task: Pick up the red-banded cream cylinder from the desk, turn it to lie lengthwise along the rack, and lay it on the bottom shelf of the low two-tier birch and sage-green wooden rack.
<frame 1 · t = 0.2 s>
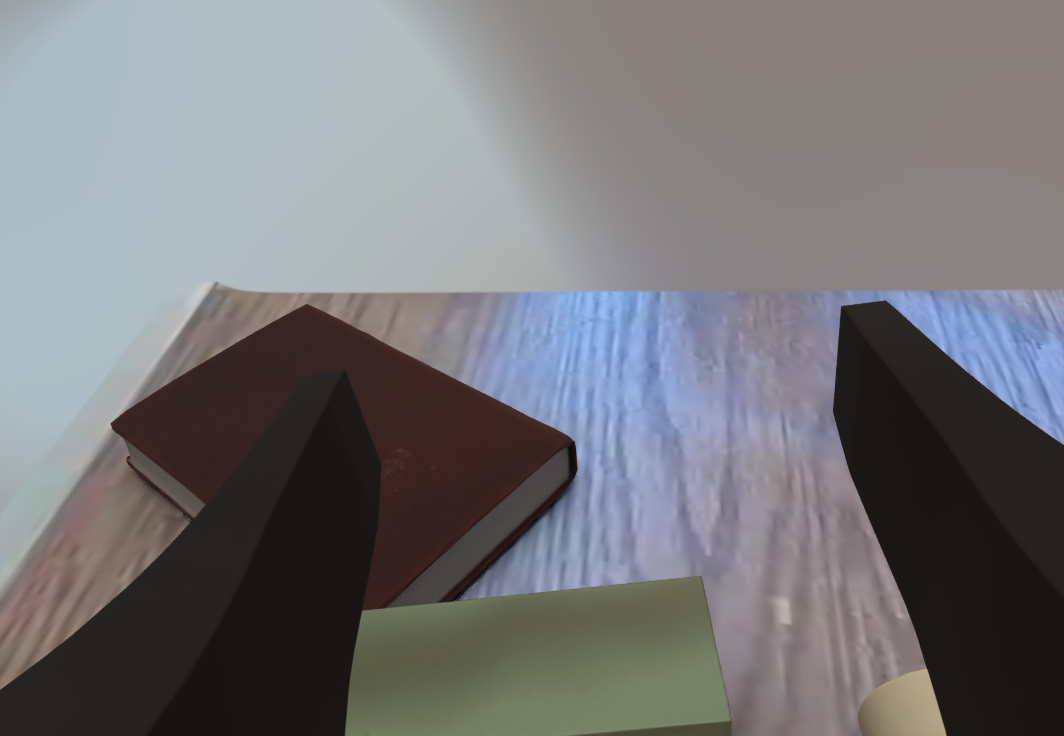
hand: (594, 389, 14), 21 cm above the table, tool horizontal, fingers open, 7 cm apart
book: (345, 478, 44), on the table
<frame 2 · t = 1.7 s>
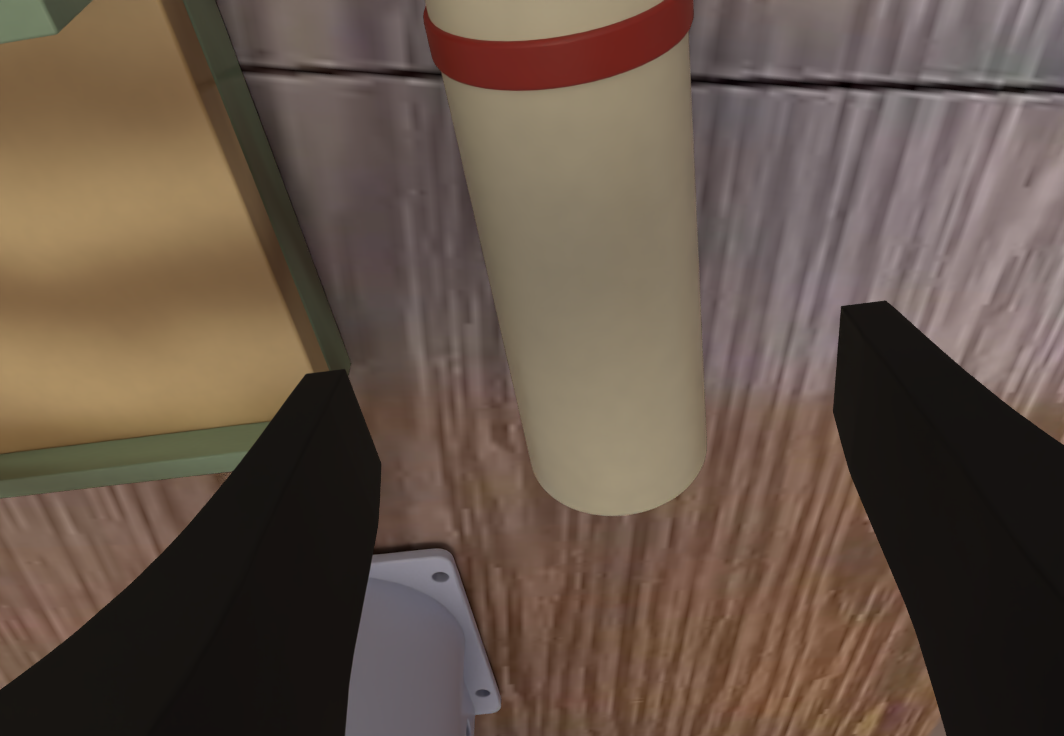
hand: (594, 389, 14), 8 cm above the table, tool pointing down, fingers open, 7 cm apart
red-banded cream cylinder: (572, 136, 20), on the table
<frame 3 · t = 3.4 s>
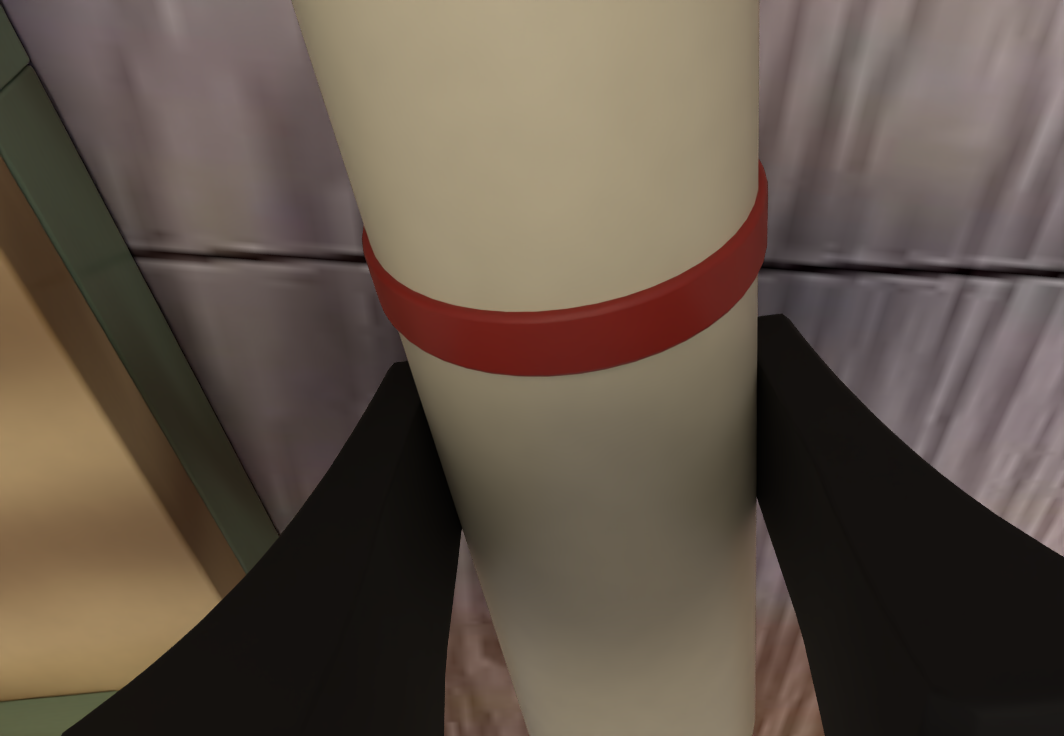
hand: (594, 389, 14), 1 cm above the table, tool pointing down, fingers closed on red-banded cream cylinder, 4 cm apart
red-banded cream cylinder: (587, 334, 15), on the table, touching gripper
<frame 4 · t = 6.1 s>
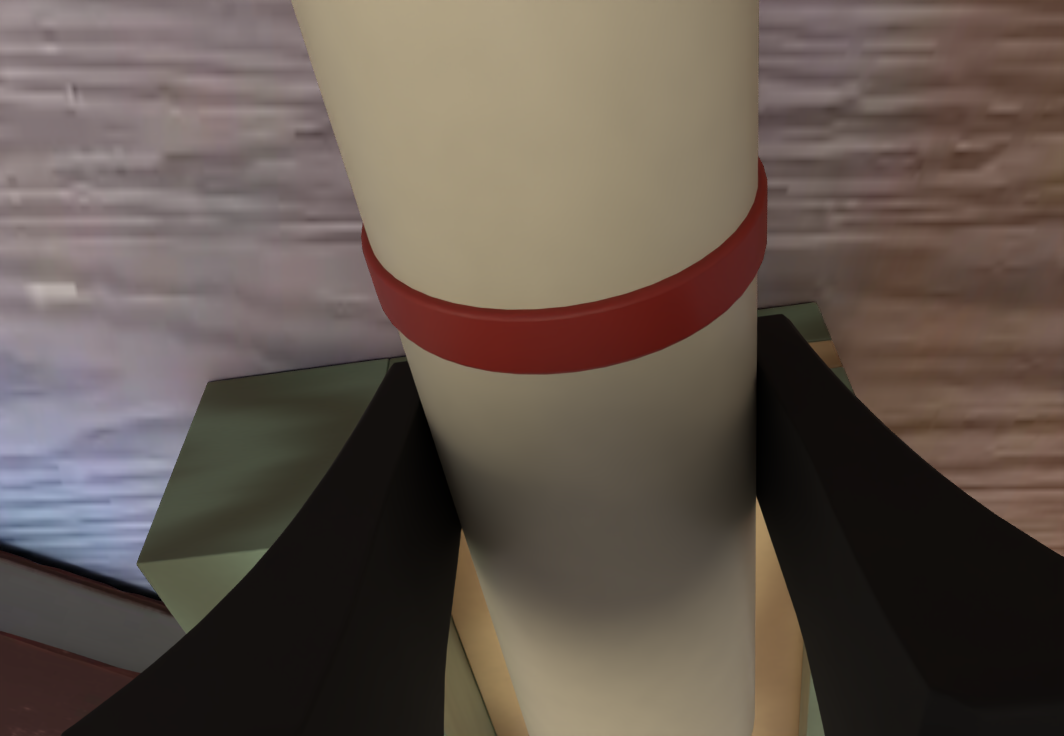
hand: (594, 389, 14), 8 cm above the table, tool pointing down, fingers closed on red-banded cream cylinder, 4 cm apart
shelf rack: (570, 565, 30), on the table
book: (51, 706, 35), on the table
red-banded cream cylinder: (586, 332, 15), point 7 cm above the table, touching gripper
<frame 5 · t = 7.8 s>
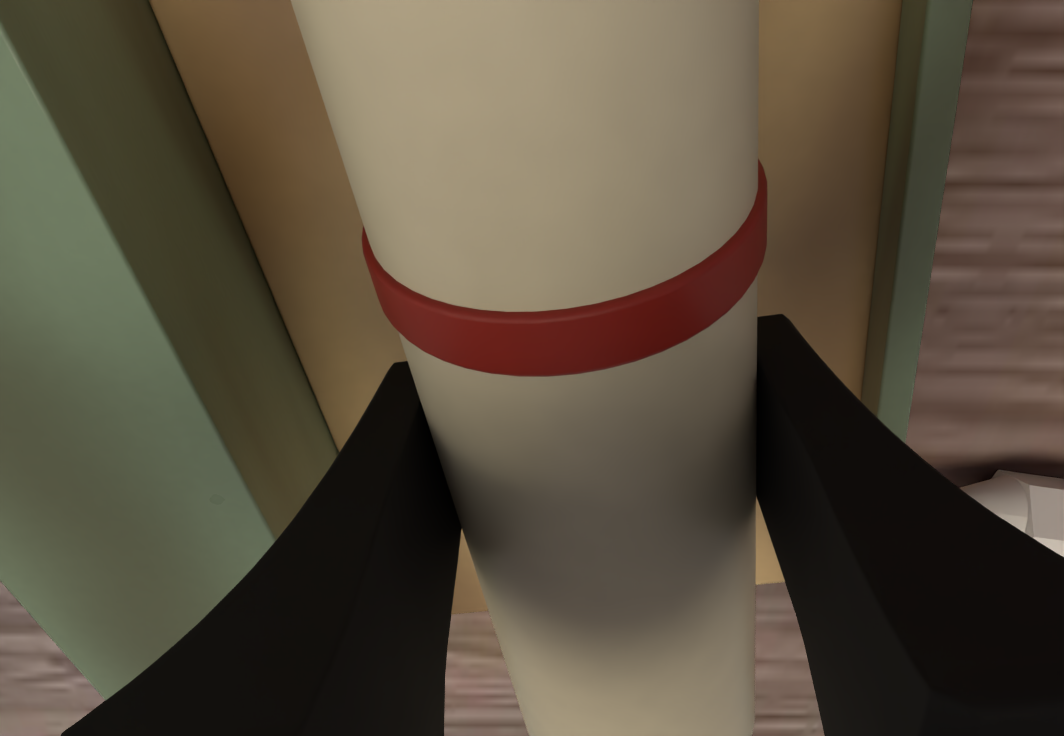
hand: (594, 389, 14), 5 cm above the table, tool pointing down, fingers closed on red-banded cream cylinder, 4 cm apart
shelf rack: (477, 213, 18), on the table
red-banded cream cylinder: (586, 334, 15), point 4 cm above the table, touching gripper
when the fingers open (4 cm above the table, at t = 8.8 s): red-banded cream cylinder stays where it is, resting on shelf rack.
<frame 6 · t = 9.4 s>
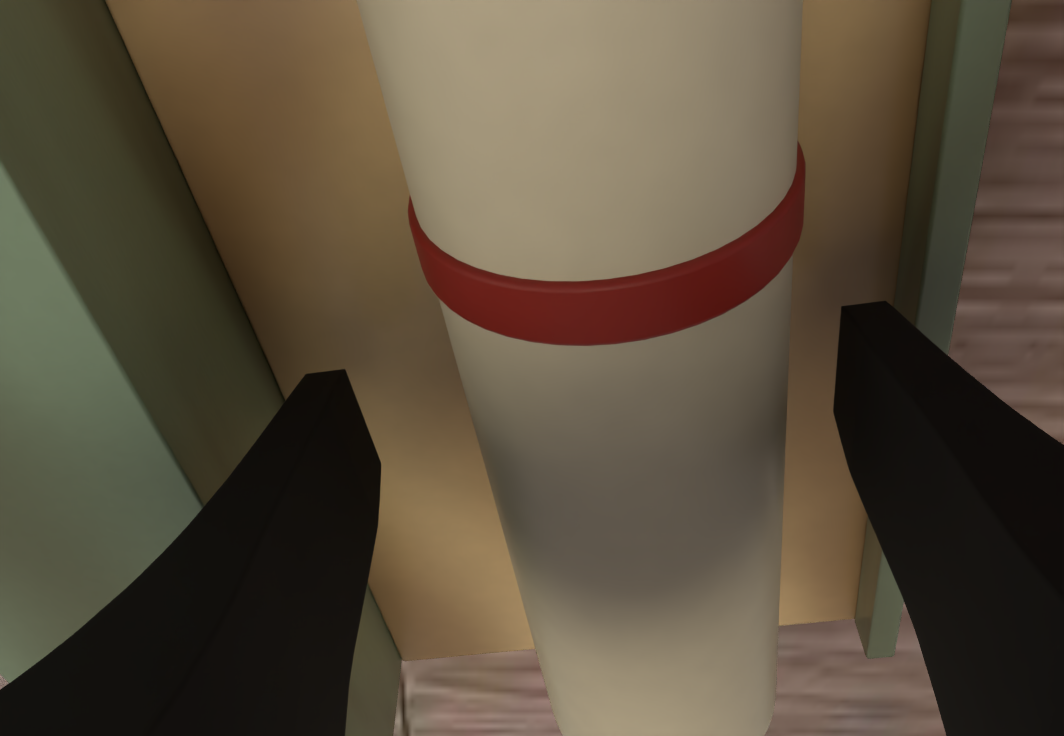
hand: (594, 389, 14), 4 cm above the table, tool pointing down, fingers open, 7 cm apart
shelf rack: (473, 246, 17), on the table
red-banded cream cylinder: (585, 320, 15), point 3 cm above the table, tilted 13°, touching shelf rack
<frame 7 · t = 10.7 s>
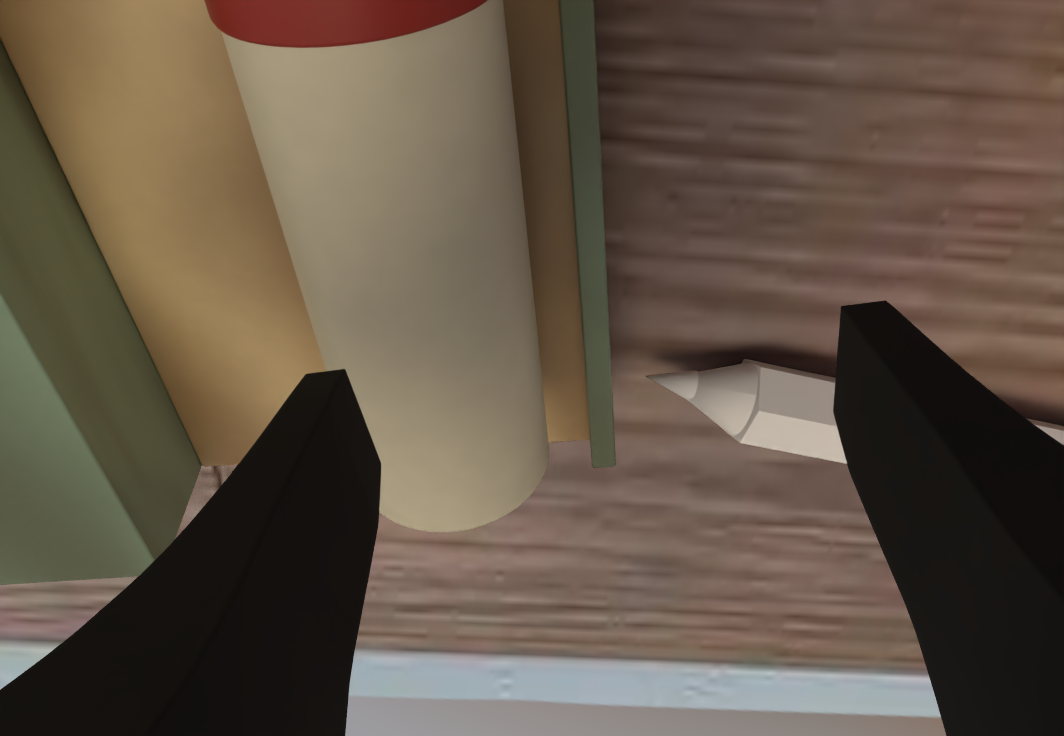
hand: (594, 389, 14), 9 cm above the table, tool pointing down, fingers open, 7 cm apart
marker: (897, 404, 27), on the table
shelf rack: (247, 76, 20), on the table
red-banded cream cylinder: (320, 136, 17), point 3 cm above the table, tilted 47°, touching shelf rack
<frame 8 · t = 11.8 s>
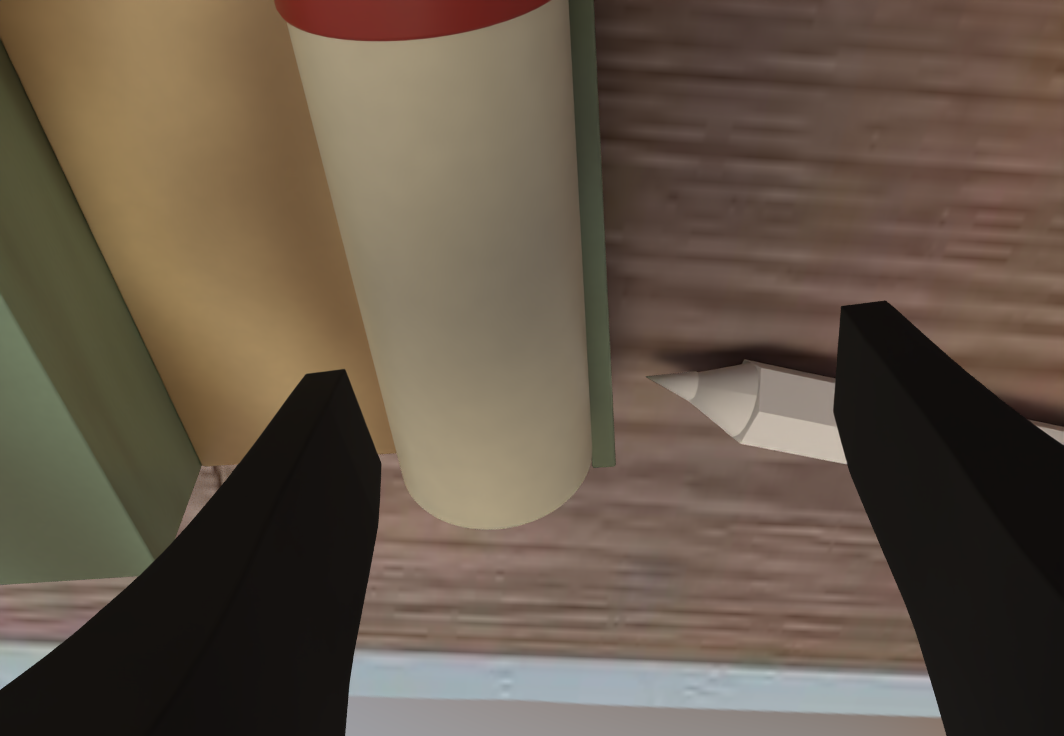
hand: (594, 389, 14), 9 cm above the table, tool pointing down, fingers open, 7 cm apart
marker: (897, 404, 27), on the table
shelf rack: (247, 76, 20), on the table
red-banded cream cylinder: (341, 155, 17), point 4 cm above the table, tilted 72°, touching shelf rack
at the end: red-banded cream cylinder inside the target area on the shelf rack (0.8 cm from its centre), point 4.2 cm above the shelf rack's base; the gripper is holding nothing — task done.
